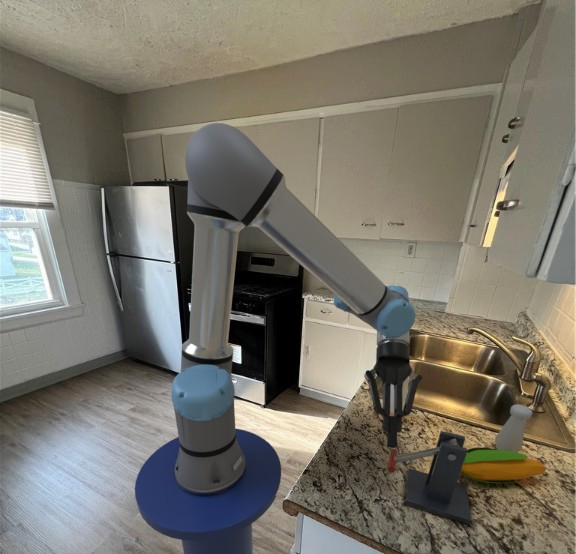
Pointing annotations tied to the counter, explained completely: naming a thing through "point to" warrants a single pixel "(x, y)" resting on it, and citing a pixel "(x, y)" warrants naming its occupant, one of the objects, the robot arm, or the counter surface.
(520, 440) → the salt shaker
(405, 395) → the pepper shaker
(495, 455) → the corn
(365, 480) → the counter surface
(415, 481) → the bracket
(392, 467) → the lever
